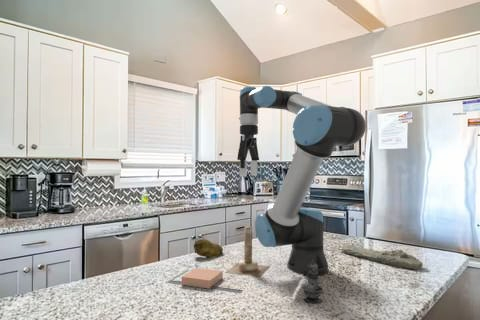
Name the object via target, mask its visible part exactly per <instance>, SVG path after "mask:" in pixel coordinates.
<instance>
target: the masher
mask: <svg viewBox="0 0 480 320" xmlns="http://www.w3.org/2000/svg"><path fill="white" fill-rule="evenodd" d="M243 252H244V257H243V260H240V261H238V263H239V271H242V272H255V271H257V270H258V265H259V264H258V261H257V260H255V259H253V226H244V251H243Z"/></svg>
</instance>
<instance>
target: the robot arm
mask: <svg viewBox="0 0 480 320" xmlns="http://www.w3.org/2000/svg"><path fill="white" fill-rule="evenodd" d="M262 108H263V109H275V110H283V111H287V112H290V113H292V114H294V115H296V116H295V118H294V121H293V123H292V128H293V130H292V135H293V138H294V145H295V147H296V151H295V153H294V155H293V158H292V159H291V160H292V161H291V162H290V165H289V167H288V170H287V173H286V175H285V176H284V179H283V181H282V185H281V186H280V189H279V191H278V194H277V196H276V199H275V201H274V202H272V203H270V204H269V205H268V206H267V209H266V211H265V213H260V214H258V215H257V216H256V217H255V221H254V229H255V233H256V237H257V240H258V241H259V243H260V245H262V246H263V247H266V248H276V247H284V246H290V245H291V251H290V253H289V257H288V259H287V263H286V268H287V269H288V270H289V271H291V272H294V273H296V274H297V273H299V274H303V275H302V276H303V277H308V276H307V274H308V264H309V263H310V262H312V259H313V260H314V263H316V264H317V265H318V275H319V277H321V276H325V275H327V274H328V273H329V264H328V261H327V257H326V254H325V251H324V223H325V221H324V214H323V212H322V211H321V210H318V209H313V208H307V207H302V205H303V203H304V200H305V198H307V197H306V196H307V195H308V193H309V190H310V188H311V186H312V184H313V181H314V179H315V177H316V175H317V173H318V172H319V169H320V167H321V165H322V163H323V160H324V159H328V158H330V157H331V155H332V154H333V152H334V150H335V147H348V146H353V145H355V144H357V143H358V142H360V140H362V138H363V136H364V135H365V133H366V129H367V124H366V120H365V118H364V115H362V113H361V112H360V111H358V110H357V109H353V108H351V107H345V106H333V105H330V104H328V103H327V104H326V103H324V102H321V101H318V100H316V99H313V98H310V97H307V96H304V95H303V93H301V92H297V91H289V90H281V89H274V88H273V87H272V86H269V85H264V86H259V87H255V86H244V87H242V88H240V91H239V117H238V120H239V124H240V126H239V134H240V141H239V147H238V153H237V158H236V159H237V161H239V177H240V178H241V177H242V178H243V177H247V175H248V159H247V157H248V152H249V155H250V158H251V160H250V176H258V161H260V156H259V151H258V149H259V148H258V144H257V140H258V139H257V137H254V136H255V135H258V134H259V127H258V124H259V109H262Z"/></svg>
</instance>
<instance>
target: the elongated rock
mask: <svg viewBox="0 0 480 320" xmlns="http://www.w3.org/2000/svg"><path fill="white" fill-rule="evenodd" d="M341 253H342V254H347V255H350V256H354V257H357V258H360V259H363V260H367V261H371V262H377V263H381V264H384V265H387V266H394V267H396V268H399V269H403V268H405V269H412V270H419V269H421V268H423V263H422V261H421V260H420V259H417V258H416V257H415V256H413V255H411V254H407V253H406V252H404V251H403V250H402V249H396V250H394V249H391V250H384V251H383V250H382V251H379V250H375V249H371V248H370V249H369V248H365V247H360V246H356V245H352V244H347V245H342V246H341Z"/></svg>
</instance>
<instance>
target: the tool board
mask: <svg viewBox="0 0 480 320" xmlns="http://www.w3.org/2000/svg"><path fill="white" fill-rule="evenodd" d="M270 267H271V266H270V265H262V264H258V270H257V271H255V272H242V271H239V262H237V263H236V264H234V265H233V266H232V267H230V268H229V269H228V270H226V272H225V274H232V275H239V276H241V275H242V276H249V277H254V278H255V277H256V278H261V277H262V276H263V275H264V274H265V272H267V270H268V269H269V268H270Z"/></svg>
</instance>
